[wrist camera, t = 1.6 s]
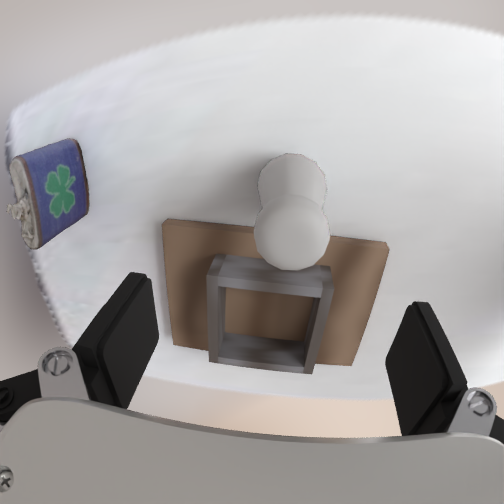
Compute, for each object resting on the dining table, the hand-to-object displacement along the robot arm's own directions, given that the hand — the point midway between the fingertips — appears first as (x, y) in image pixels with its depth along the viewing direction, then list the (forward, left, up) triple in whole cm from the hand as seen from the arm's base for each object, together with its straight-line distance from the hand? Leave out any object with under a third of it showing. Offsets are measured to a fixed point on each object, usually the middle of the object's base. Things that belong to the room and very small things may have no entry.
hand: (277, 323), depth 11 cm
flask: (+23, +1, -20) cm, 30 cm away
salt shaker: (0, 0, -20) cm, 20 cm away
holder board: (+1, +13, -20) cm, 24 cm away
